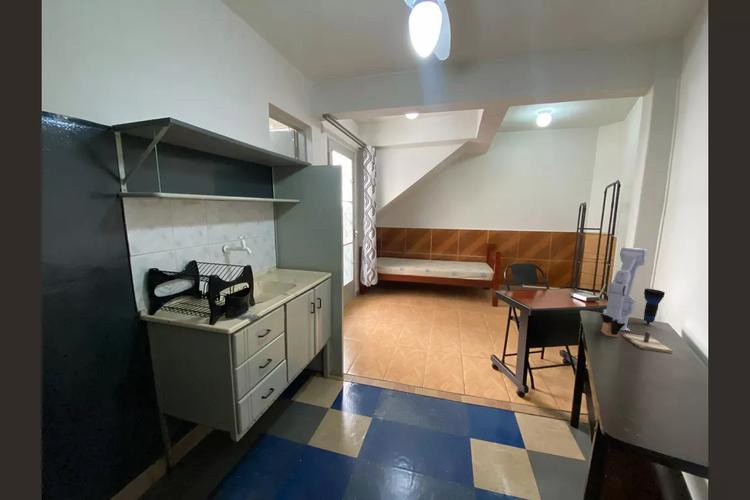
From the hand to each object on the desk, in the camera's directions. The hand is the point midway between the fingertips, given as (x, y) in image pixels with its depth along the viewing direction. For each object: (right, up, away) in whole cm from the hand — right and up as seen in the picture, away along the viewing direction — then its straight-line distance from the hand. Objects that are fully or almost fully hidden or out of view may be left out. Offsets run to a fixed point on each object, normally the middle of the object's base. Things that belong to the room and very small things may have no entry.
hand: (610, 331), depth 142 cm
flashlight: (+34, -1, +15) cm, 38 cm away
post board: (+10, -3, -9) cm, 14 cm away
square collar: (0, -2, 0) cm, 2 cm away
